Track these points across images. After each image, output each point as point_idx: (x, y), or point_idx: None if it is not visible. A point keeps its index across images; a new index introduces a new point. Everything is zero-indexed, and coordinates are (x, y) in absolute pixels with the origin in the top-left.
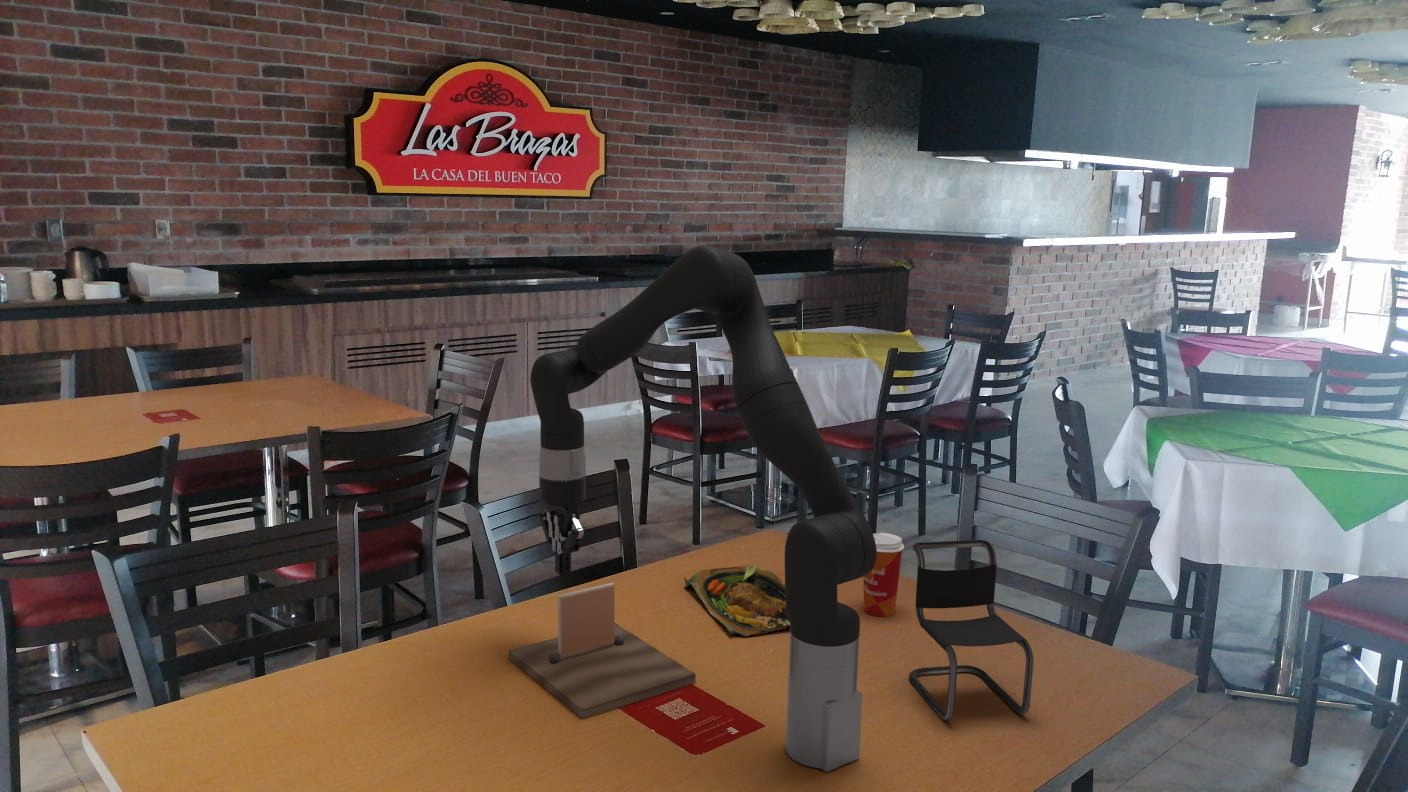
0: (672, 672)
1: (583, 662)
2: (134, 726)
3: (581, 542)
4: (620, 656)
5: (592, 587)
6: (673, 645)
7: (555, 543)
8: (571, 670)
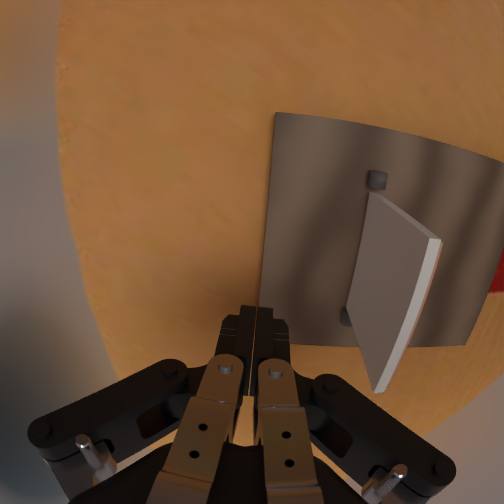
0: (501, 192)
1: None
2: None
3: (390, 422)
4: (416, 214)
5: (409, 308)
6: (410, 77)
7: (235, 428)
8: None
